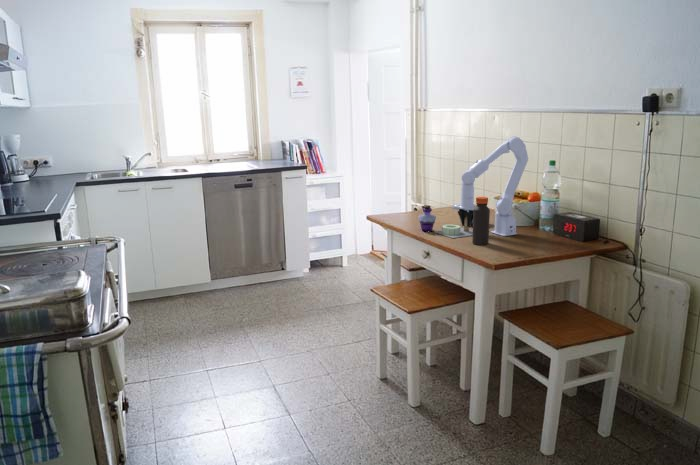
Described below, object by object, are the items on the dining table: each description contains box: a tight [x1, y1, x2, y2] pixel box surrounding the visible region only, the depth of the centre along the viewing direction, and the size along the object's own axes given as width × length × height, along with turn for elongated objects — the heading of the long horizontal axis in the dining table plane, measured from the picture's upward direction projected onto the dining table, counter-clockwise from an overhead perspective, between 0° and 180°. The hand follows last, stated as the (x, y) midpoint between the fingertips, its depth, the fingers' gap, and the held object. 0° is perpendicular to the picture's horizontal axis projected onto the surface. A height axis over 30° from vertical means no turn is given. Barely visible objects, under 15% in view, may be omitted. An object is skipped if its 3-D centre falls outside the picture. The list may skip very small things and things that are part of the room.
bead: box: [441, 224, 461, 235], centre depth 265 cm, size 8×8×3 cm
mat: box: [434, 227, 473, 239], centre depth 266 cm, size 14×16×1 cm
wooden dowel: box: [463, 217, 470, 232], centre depth 267 cm, size 2×2×7 cm
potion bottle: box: [418, 204, 437, 233], centre depth 271 cm, size 9×9×12 cm
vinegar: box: [471, 196, 491, 246], centre depth 245 cm, size 7×7×20 cm
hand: (466, 226), depth 267 cm, fingers closed on wooden dowel, 2 cm apart
